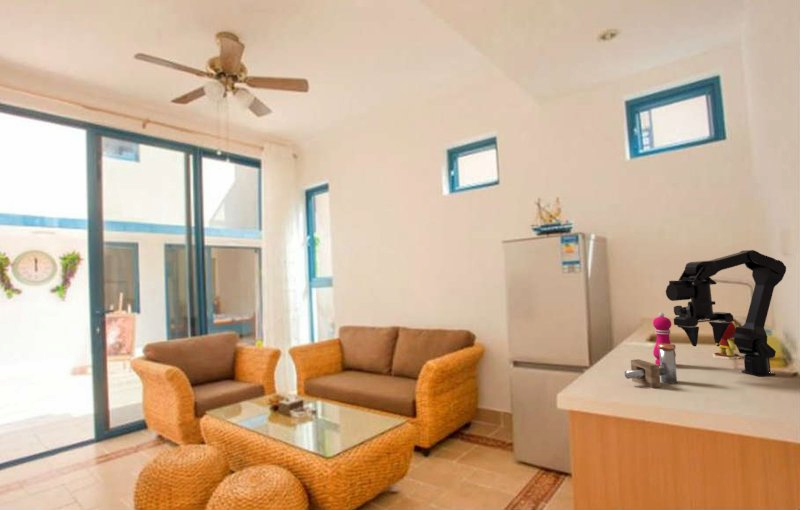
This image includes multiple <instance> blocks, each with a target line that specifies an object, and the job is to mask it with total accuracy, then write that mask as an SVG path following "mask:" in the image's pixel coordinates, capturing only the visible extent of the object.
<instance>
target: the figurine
mask: <svg viewBox="0 0 800 510" xmlns="http://www.w3.org/2000/svg"><path fill="white" fill-rule="evenodd" d="M730 323H731V324H729V325H728V327H727V329H726V330H725V332H724V334H723V336H722V338H721V340H720V342H719V343H715V345H716V347H718V348H719V349H718V352H713V353H712V357H713V358H715V359H716V358H717V359H723V360H735V359H734V358H737V357H741V356H740V355H739V354H738V353H734V351H736V349H737V346H736V345H735V344H734V341H732V339H734V338H733V336H734V334H735V329H736V327H738V325H736V323H735V322H734V321H732V322H730Z"/></svg>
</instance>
